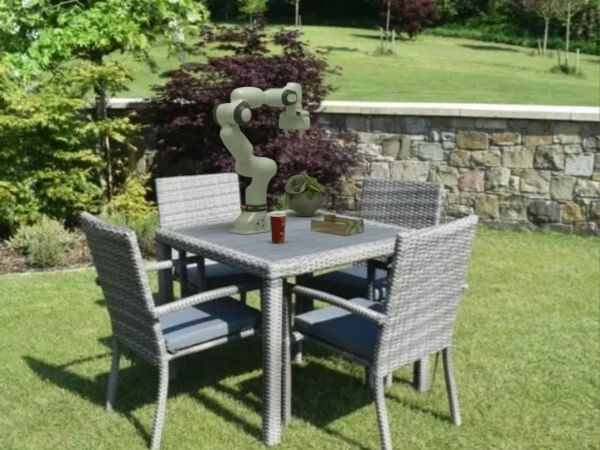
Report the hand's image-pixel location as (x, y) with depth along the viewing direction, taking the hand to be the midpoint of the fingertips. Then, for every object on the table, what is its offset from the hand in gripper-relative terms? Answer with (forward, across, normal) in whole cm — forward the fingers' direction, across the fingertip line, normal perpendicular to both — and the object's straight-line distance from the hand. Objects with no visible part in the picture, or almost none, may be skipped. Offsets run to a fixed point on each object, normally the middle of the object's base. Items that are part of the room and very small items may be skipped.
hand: (294, 137), depth 421 cm
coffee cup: (+48, +31, -48) cm, 74 cm away
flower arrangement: (+48, -8, +20) cm, 52 cm away
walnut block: (+44, +28, -3) cm, 53 cm away
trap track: (+47, +36, -7) cm, 60 cm away
